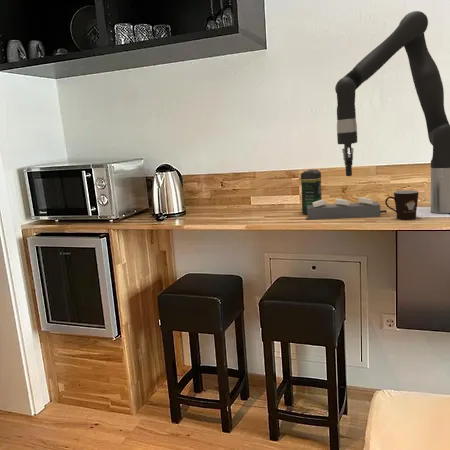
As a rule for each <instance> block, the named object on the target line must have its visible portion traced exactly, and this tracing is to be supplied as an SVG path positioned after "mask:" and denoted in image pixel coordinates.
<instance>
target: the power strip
mask: <svg viewBox="0 0 450 450" xmlns="http://www.w3.org/2000/svg"><path fill="white" fill-rule="evenodd" d="M387 212H388V211H387V210H386V209H381V204H380V203H379V202H378V201H374V202H373V205H372V204H367V203H361V202H352V203H351V202H350V204H349V205H342V204H336V203H332V204H329V203H328V204H324V205H321V206H317V207H313V205H307V214H306V216H307V220H308V221H309V220H329V219H330V220H331V219H348V218H349V219H350V218H351V219H353V218H374V217H381V214H384V213H387Z"/></svg>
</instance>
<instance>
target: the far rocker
mask: <svg viewBox="0 0 450 450" xmlns="http://www.w3.org/2000/svg"><path fill="white" fill-rule="evenodd" d="M324 204H325V205H326V204H327V200H326V198H322V200H319V201H316V202H313V207H317V206H321V205H324Z"/></svg>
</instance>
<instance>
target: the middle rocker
mask: <svg viewBox="0 0 450 450" xmlns="http://www.w3.org/2000/svg"><path fill="white" fill-rule="evenodd" d="M350 203H351V201H350V199H345V198H343V199H342V198H337V197H336V198H335V204H342V205H349V204H350Z"/></svg>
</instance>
